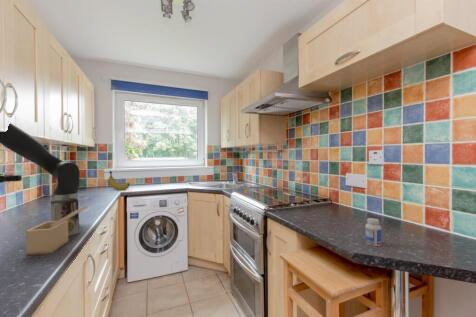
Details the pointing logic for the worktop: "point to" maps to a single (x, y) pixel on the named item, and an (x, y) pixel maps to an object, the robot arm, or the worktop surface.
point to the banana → (115, 184)
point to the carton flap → (68, 216)
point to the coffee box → (66, 213)
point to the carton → (46, 238)
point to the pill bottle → (373, 232)
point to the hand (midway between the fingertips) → (20, 178)
